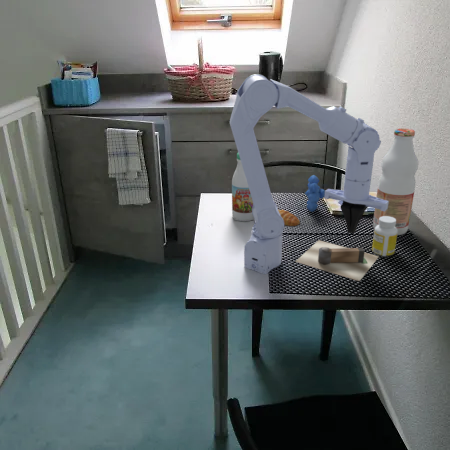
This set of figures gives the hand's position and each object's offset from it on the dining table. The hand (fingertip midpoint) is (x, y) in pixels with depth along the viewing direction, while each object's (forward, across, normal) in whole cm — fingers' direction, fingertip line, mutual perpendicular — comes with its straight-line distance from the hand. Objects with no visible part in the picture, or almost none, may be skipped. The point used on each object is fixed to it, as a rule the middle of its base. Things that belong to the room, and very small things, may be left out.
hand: (351, 231), depth 106 cm
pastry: (+8, +24, -11) cm, 28 cm away
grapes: (+8, +20, -23) cm, 31 cm away
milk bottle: (+8, +36, -8) cm, 38 cm away
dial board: (+8, +2, +3) cm, 8 cm away
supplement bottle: (+8, -6, -7) cm, 12 cm away
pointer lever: (+7, +1, +4) cm, 8 cm away
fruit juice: (+8, -3, -23) cm, 25 cm away
